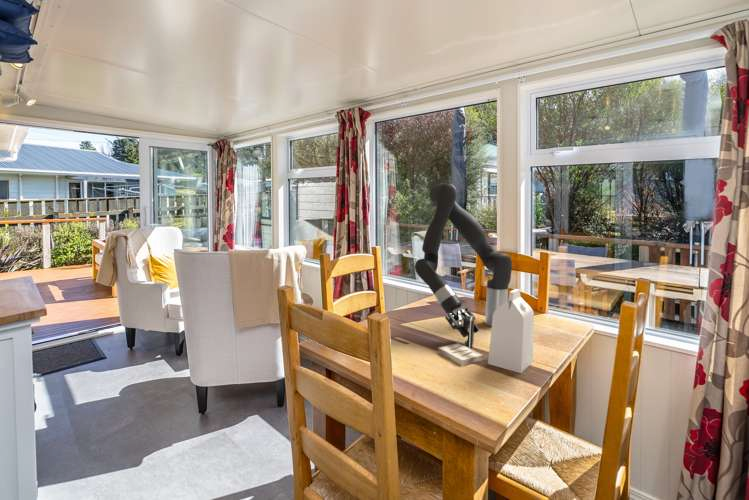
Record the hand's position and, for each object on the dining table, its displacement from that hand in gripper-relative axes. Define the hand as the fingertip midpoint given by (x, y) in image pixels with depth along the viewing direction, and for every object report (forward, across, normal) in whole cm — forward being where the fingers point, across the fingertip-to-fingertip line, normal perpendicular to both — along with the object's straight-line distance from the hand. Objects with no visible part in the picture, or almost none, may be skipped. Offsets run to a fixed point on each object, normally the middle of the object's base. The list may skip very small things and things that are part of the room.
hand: (471, 333), depth 151 cm
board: (+5, -12, +2) cm, 13 cm away
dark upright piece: (+3, 0, +5) cm, 6 cm away
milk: (+16, -3, -9) cm, 19 cm away
